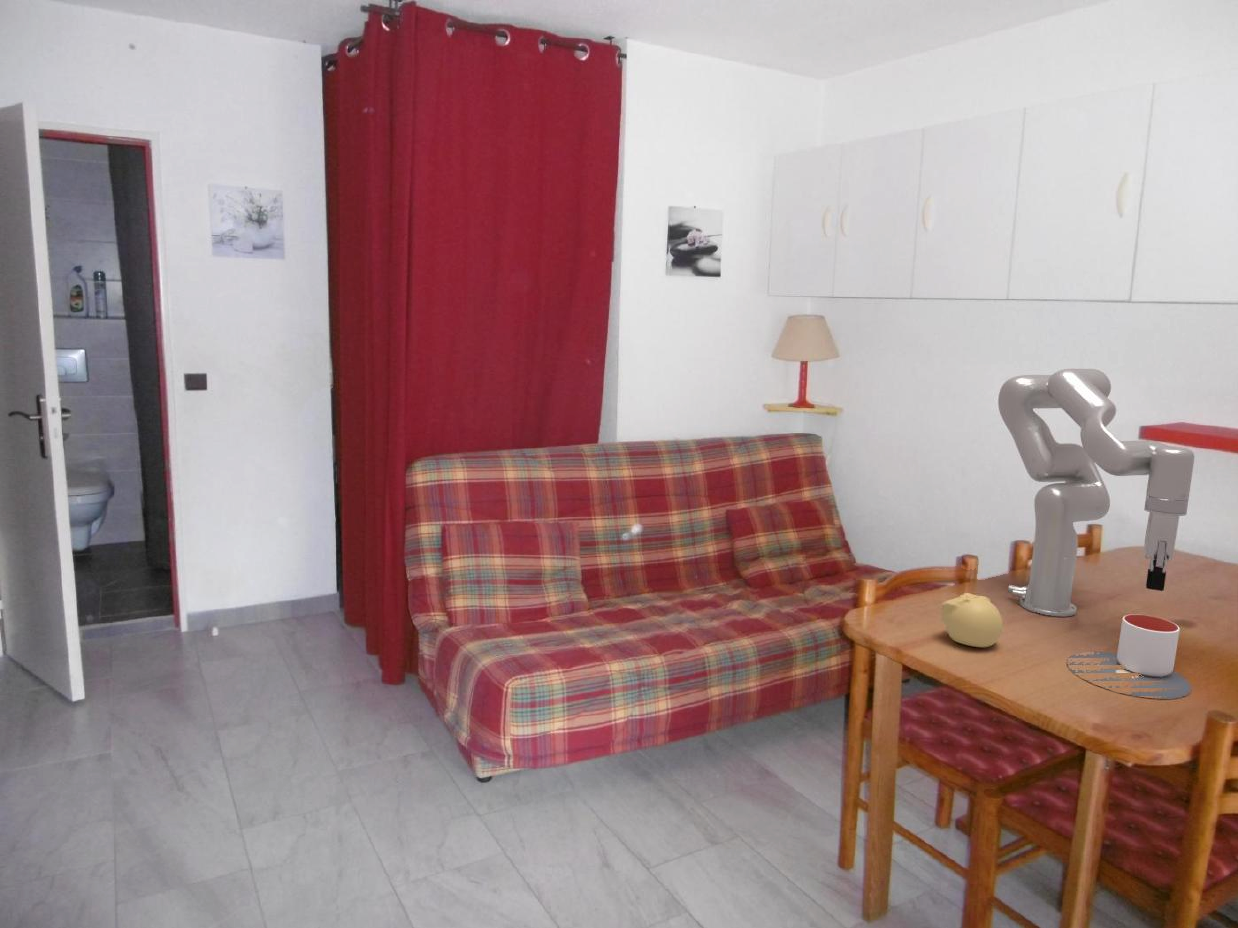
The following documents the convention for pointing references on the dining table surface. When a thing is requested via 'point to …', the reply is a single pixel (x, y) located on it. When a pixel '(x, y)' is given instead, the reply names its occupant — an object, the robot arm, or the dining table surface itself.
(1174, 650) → the cup
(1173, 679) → the mat
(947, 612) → the sculpture
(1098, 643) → the dining table surface
